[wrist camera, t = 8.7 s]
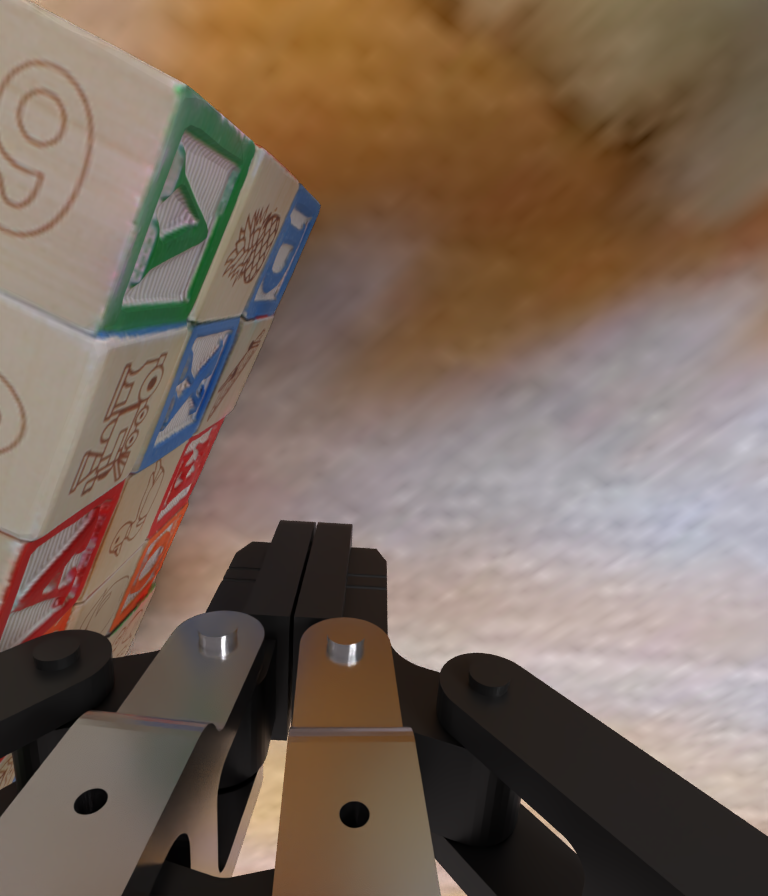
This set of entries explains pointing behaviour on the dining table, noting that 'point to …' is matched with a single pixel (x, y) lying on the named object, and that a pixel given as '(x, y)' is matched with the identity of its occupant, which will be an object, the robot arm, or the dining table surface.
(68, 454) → the stack of blocks
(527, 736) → the robot arm
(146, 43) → the dining table surface
